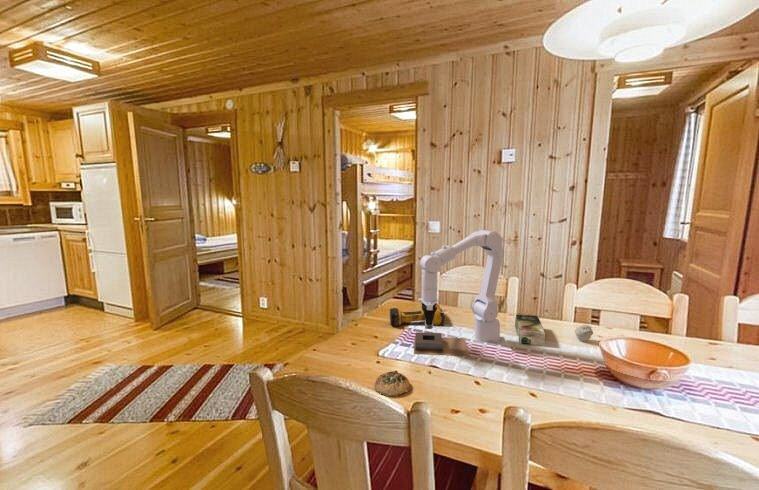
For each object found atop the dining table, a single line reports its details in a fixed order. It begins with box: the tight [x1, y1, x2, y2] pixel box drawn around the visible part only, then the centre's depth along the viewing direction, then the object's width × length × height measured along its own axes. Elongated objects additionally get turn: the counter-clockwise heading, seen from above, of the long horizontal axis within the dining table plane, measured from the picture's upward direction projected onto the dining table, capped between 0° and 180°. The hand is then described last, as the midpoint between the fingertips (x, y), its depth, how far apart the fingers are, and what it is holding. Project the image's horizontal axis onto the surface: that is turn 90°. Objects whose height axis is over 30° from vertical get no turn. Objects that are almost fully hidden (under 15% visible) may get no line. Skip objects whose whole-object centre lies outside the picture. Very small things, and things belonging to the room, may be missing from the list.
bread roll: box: [374, 370, 411, 397], centre depth 107 cm, size 11×11×5 cm
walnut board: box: [413, 335, 471, 357], centre depth 134 cm, size 20×16×1 cm
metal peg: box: [424, 320, 434, 330], centre depth 133 cm, size 3×3×7 cm
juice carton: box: [514, 314, 546, 346], centre depth 146 cm, size 20×10×6 cm, turn 164°
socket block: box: [414, 331, 443, 352], centre depth 135 cm, size 10×10×3 cm
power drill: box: [389, 302, 446, 328], centre depth 167 cm, size 7×24×25 cm
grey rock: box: [574, 324, 594, 342], centre depth 140 cm, size 6×7×7 cm
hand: (428, 322), depth 134 cm, fingers closed on metal peg, 3 cm apart
